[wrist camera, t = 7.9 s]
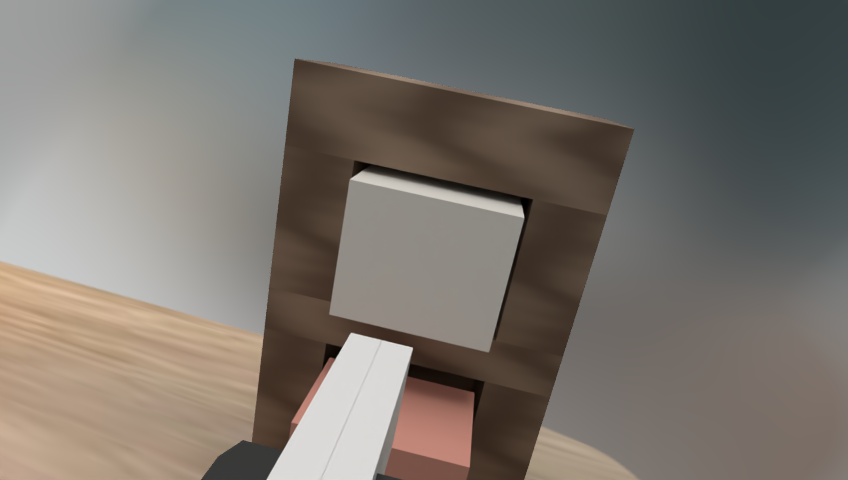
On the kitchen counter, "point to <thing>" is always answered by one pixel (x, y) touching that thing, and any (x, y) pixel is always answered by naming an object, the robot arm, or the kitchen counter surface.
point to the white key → (425, 255)
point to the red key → (423, 430)
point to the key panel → (453, 161)
